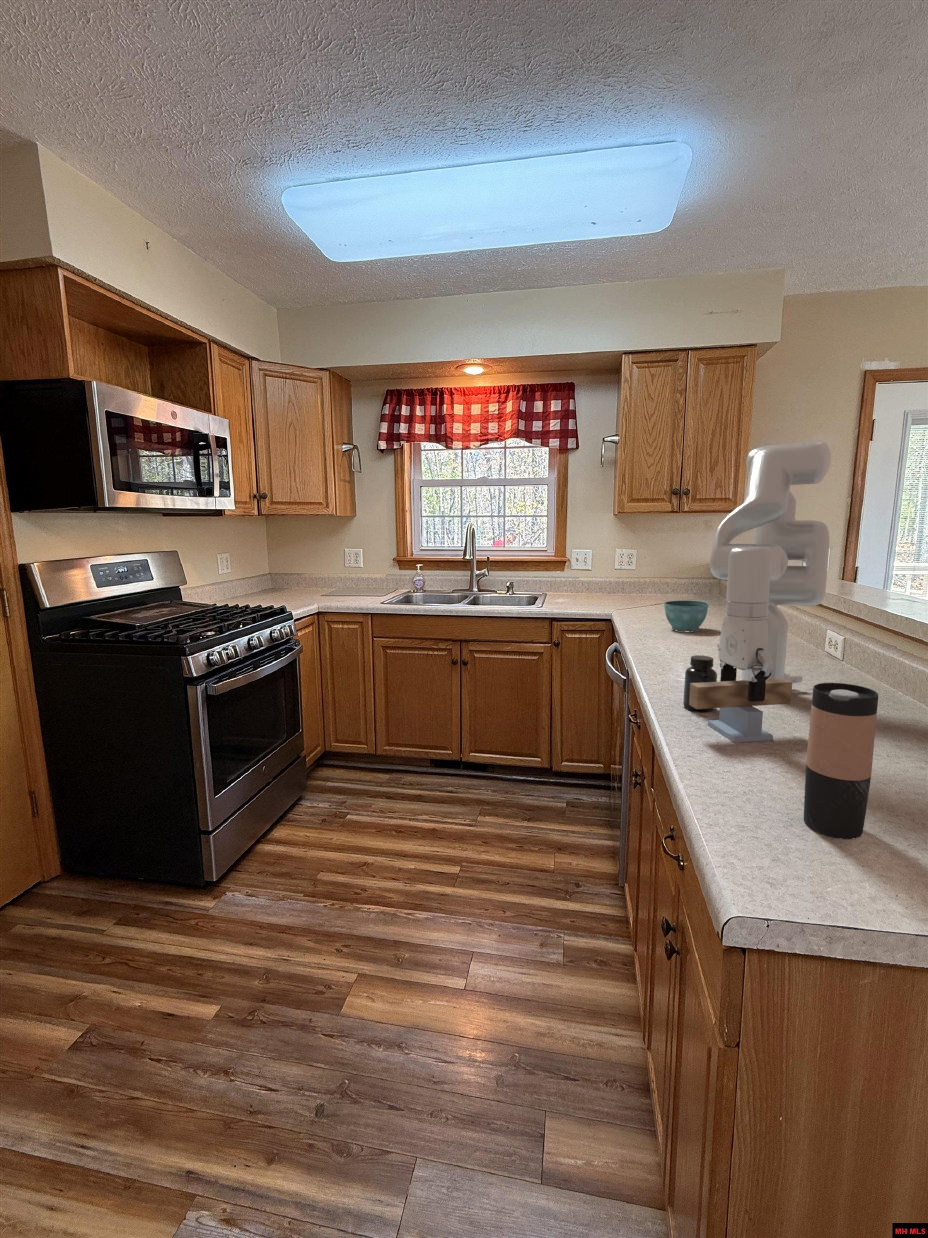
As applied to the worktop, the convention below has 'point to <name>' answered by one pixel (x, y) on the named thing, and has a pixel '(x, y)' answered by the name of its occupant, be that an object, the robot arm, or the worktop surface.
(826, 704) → the travel mug
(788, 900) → the worktop surface
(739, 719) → the fulcrum
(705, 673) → the supplement bottle
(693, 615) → the teal bowl
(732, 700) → the walnut bar
